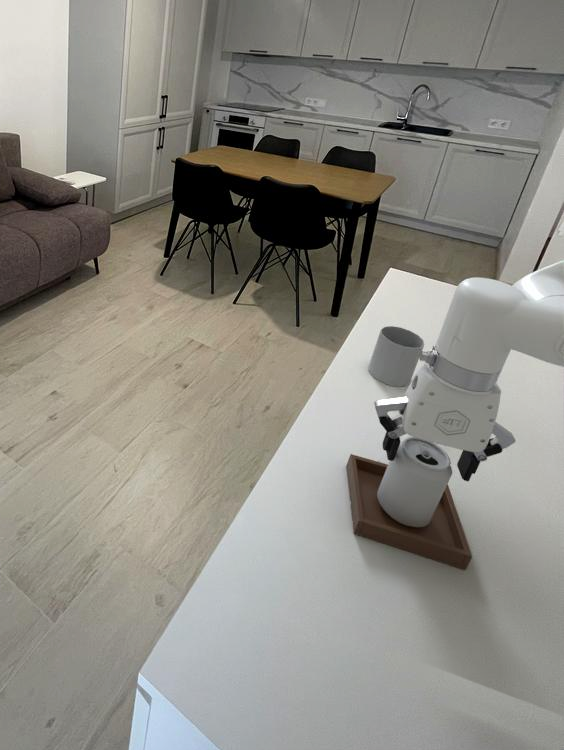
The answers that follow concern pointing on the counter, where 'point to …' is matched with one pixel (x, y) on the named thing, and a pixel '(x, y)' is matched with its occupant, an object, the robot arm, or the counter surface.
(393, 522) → the tray
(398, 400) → the robot arm
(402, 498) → the can
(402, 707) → the counter surface
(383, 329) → the cup
